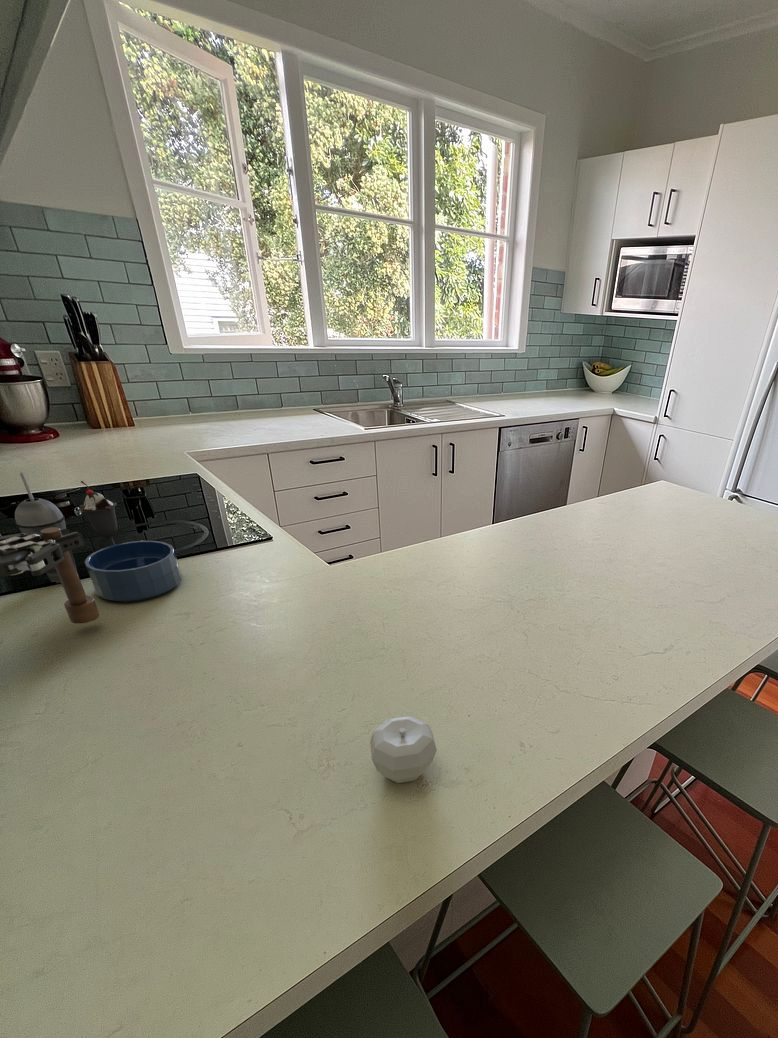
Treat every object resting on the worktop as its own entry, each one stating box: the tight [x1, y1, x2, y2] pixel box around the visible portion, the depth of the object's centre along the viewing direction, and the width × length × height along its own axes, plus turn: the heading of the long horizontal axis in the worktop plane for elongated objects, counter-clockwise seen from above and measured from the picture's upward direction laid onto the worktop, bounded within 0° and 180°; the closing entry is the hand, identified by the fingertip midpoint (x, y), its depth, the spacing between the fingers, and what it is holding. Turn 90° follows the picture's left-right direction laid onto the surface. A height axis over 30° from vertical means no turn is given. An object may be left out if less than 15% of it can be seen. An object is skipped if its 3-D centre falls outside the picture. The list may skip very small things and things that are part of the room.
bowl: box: [84, 540, 183, 603], centre depth 101 cm, size 14×14×6 cm
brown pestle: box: [40, 527, 100, 625], centre depth 84 cm, size 4×4×15 cm
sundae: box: [78, 480, 118, 547], centre depth 112 cm, size 7×7×15 cm
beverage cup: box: [14, 471, 79, 584], centre depth 100 cm, size 7×7×20 cm
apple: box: [369, 715, 438, 784], centre depth 63 cm, size 8×8×7 cm
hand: (74, 536), depth 84 cm, fingers closed on brown pestle, 2 cm apart
